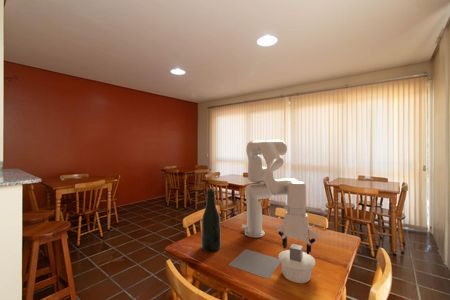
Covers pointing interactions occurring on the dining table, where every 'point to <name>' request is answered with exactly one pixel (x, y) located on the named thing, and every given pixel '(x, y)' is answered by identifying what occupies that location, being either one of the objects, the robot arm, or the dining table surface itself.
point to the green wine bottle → (211, 224)
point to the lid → (296, 258)
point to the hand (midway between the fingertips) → (296, 250)
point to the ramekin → (296, 274)
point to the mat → (256, 263)
